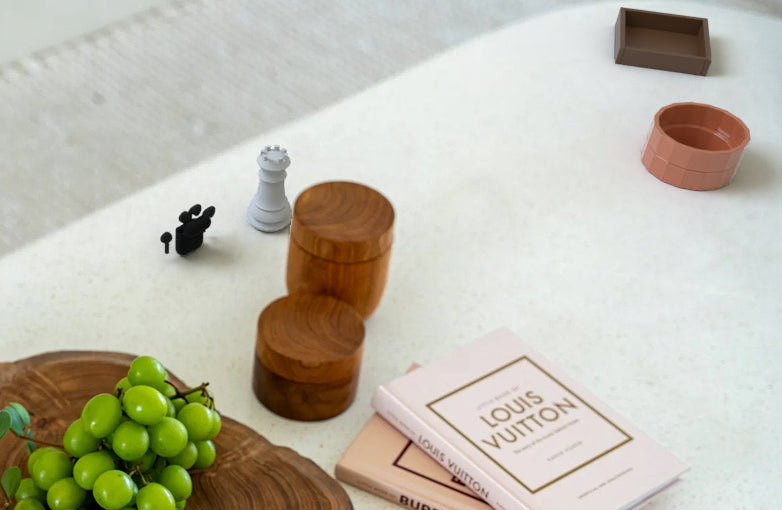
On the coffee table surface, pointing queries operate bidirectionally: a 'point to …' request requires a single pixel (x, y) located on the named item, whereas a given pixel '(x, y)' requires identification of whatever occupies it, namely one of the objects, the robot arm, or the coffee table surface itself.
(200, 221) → the wireless earbuds
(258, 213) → the rook chess piece
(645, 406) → the coffee table surface
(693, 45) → the tray
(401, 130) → the coffee table surface
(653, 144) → the bowl
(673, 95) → the coffee table surface
